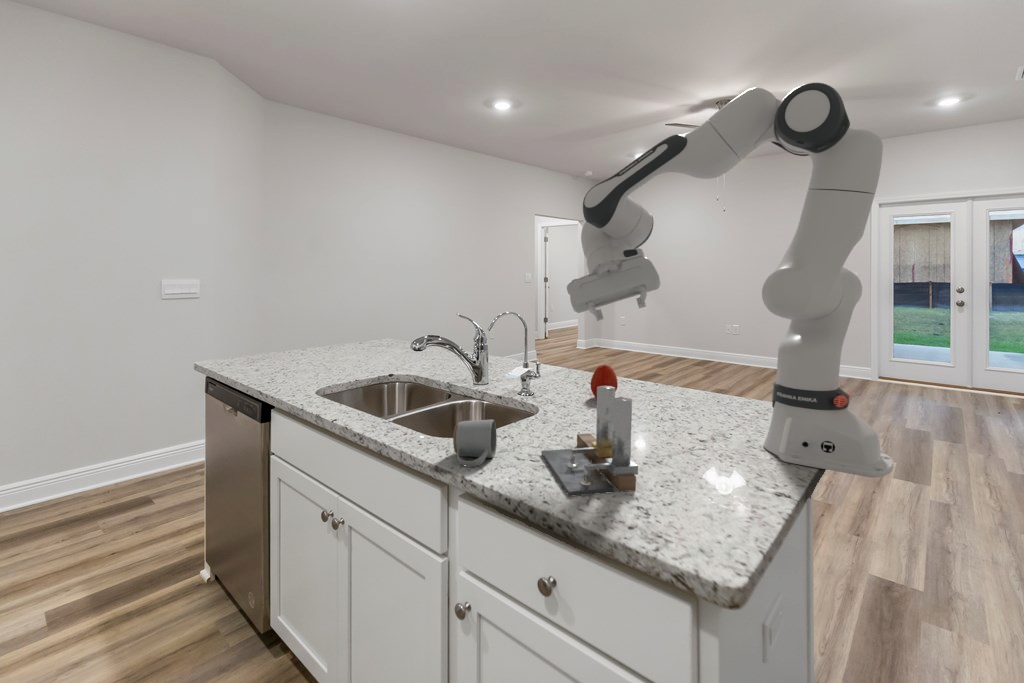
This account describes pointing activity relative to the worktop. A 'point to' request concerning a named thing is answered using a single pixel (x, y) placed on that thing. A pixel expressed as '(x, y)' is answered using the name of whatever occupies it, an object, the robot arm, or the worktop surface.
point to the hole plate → (575, 473)
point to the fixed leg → (619, 442)
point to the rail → (618, 481)
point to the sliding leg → (601, 425)
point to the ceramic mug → (475, 440)
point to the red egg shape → (603, 378)
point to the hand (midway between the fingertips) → (620, 312)
